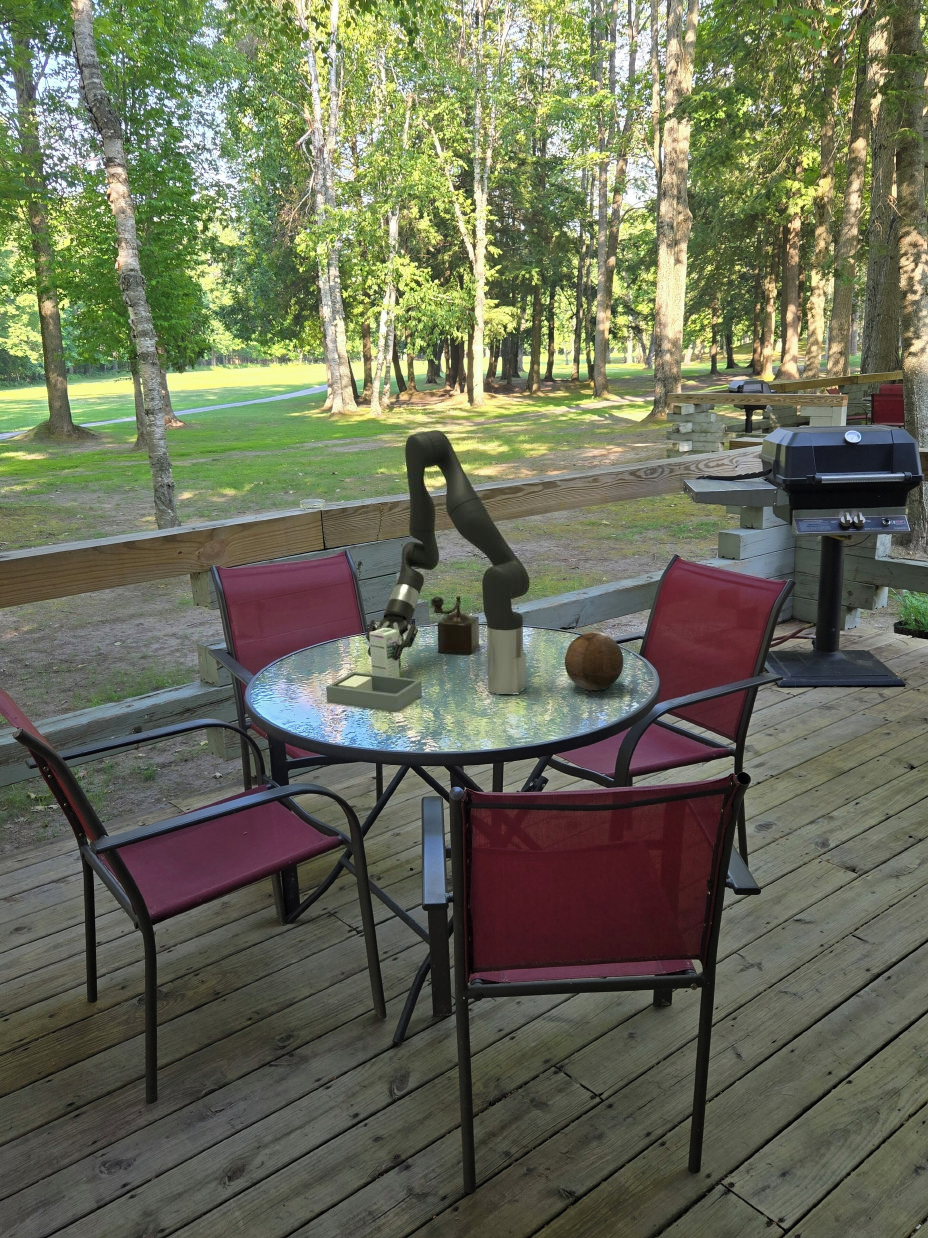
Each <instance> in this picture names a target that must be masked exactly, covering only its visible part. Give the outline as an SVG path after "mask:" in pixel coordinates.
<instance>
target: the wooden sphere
mask: <svg viewBox="0 0 928 1238" xmlns="http://www.w3.org/2000/svg"><path fill="white" fill-rule="evenodd" d="M564 654H565V655H564V667H565V672H566V674H567V676H568V677H569V679H570V680H571V681H572V683H573V684H575V686H578V687H579V688H581V689H583V690H586V689H588V690H587V691H592V690H597V691H601V690H604V689H608V688H609V687H612V685H614V684H615V683H616V681H617V680H618V679H619V678H620V676H621V674H622V672H623V670H624V669H623V668H624V655H623V651H622V649H621V647H620V645H619V644H618V643H617V642H616V640H615V639H613V638H612V637H611V636H609V635H607V634H605V633H602V632H597V631H596V632H594V631H593V632H587V633H586V632H585V633H583V634H581V635H579V636H577V637H576V638H575V639H574V640H572V641H571V642H570V644H569V646H568V647H567V649H566V651H565V653H564Z"/></svg>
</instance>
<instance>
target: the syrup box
mask: <svg viewBox="0 0 928 1238" xmlns="http://www.w3.org/2000/svg"><path fill="white" fill-rule="evenodd" d="M369 634H370V643H369V646H370V651H371V657H370V662H371V663H370V664H371V674H375V675H383V676H391V677H398V678H402V664H401V657H400V658H399V659H398V660H397V661H395V660H394V659H393V658H392V655H393V652H394V650H395V647H396V645H398V643H397V639H398V635H399V630H396V629H392V628H382V629H380V628H378V630H376V631H373V632H370V633H369Z"/></svg>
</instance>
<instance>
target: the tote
mask: <svg viewBox="0 0 928 1238" xmlns="http://www.w3.org/2000/svg"><path fill="white" fill-rule="evenodd" d="M355 675H356V676H364V677H372V691H365V690H358V689H351V688H343V687H339V686H338V685H339V684H340V683H342V682H344V681H346V680H348V679H349V678H351V677H353V676H355ZM422 683H423V682H422V680H421V679H420V680H419V679H413V678H407V677H405V678H404V677H401V678H398V677H391V676H383V675H375V674H372V673H367V672H359V671H352V672H350V673H349V674H346V675H345V676H343V677H341V678H339V679H337V680H336V681H334V682H332V683H330V684H328V685H326V686H325V689H326V692H325V693H326V702H327V703H330V704H332V703H333V704H339V705H343V706H344V705H345V706H352V707H358V708H359V707H360V708H366V709H372V710H380V711H386V712H391V713H392V712H393V713H399V712H400V711H402V710H403V709H404V708H406V707H408V706H409V705H410V704H412V703H413V702H415V701H416V700H418V699H419V698H421V697H422V696H423V689H422Z"/></svg>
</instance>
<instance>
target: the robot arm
mask: <svg viewBox="0 0 928 1238" xmlns="http://www.w3.org/2000/svg"><path fill="white" fill-rule="evenodd" d="M404 454H405V455H404V456H405V466H406V475H407V476H406V477H407V483H408V493H409V501H410V503H409V505H410V506H409V525H408V526H409V527H408V531H409V535H410V536H411V537H412V538H413V539H415V540H417V541H419V542H416V541H409V542H406V544H404V546H403V547H402V550H401V562H400V563H401V565H400V572H399V576H398V579H397V582H396V583H395V584H396V585H395V586H394V589H393V590H392V593H391V595H390V597H389V600H388V602H387V605H386V607H385V610H384V613H383V618H382V620H381V621H376V620H374V619H372V620H370V622H369V626H368V629H367V633H366V636H365V639H366V640H367V641H368V643H369V644H370V634H369V633H370V632H373V631H376V630H379V629H382V628H392V629H396V630H399V635H398V639H397V643H398V645H396V647H395V650H394V652H393V655H392V658H393V659H394V660H395V661H397V660H398V659H399V658H400V659H401V655H402V654H403V650H404V649H405V648H409V649H410V648H412V647H413V644H414V642H415V639H416V637H417V634H418V632H419V629H418V627H417V626H416V624H414V623H412V624H411V622H412V620H413V616H414V614H415V611H416V609H417V605H418V601H419V597H420V594H421V591H422V589H423V586H424V583H425V576H424V575H423V574H422V573H421V572H420V571H418V570H417V569H421V570H425V571H433V570H435V568H436V567H437V566H438V565H439V562H440V552H439V547H438V543H437V539H436V533H435V527H436V506H435V503H434V500H433V498H432V497H431V494H430V493H429V491H428V489H427V487H426V484H425V470H426V469H427V468H431V467H436V466H437V468H439V470H440V472H441V473H442V474H441V475H442V476H443V478H444V480H445V483H446V485H445V486H446V494H445V508H446V513H447V515H448V517H449V519H450V520H451V522H452V524H453V526H454V527H455V529H456V530H457V533H459V535H461V536H462V538H464V539H465V540H466V541H467V542H469V543H470V544H471V545H472V546H474V547H476V549H478V550H479V551H481V552H482V553H483V555H485V556H486V557H487V559H488V560H489V561H490V563H491V565H492V566H490V567H488V568H487V569H486V570H485V572H484V573H483V577H482V584H481V585H482V587H481V588H482V590H481V591H482V604H483V606H482V607H483V614H484V618H485V620H486V636H487V637H486V639H487V640H486V645H487V647H486V650H487V651H486V652H487V653H486V654H487V656H486V657H487V658H486V659H487V665H486V666H487V690H489V691H490V692H489V691H488V692H489V693H491V692H492V693H491V694H494V693H496V694H495V695H499V694H511V693H519V692H520V691H521V690H522V689H523V688H525V687H526V688H527V654H526V652H524V617H523V615H522V614H521V613H520V612H518V611H513V607H512V600H514V599H518V598H520V597H522V596H523V597H524V595H526V594H527V593H528V591H529V590H530V585H531V584H530V583H531V582H530V577H529V573H528V572H527V569H526V568H525V567H524V564H523V563H522V562H521V560H520V559H519V558H518V556H517V555H516V554H515V552H514V551H513V550H512V548H511V547H510V546H509V544H508V543H507V542H506V540H505V539H504V537H503V535H502V533H501V532H500V531H499V529H498V527H497V525H496V524H495V523H494V520H493V519H492V517H491V515H490V514H489V512H488V510H487V508H486V506H485V505H484V503H483V501H482V500H481V499H480V496H479V495H478V494H477V492H476V490H475V488H474V487H473V485H472V484H471V482H470V480H469V478H468V476H467V475H466V473H465V470H464V469H463V467H462V465H461V463H460V461H459V458H458V455H457V454H456V451H455V450H454V447H453V445H452V443H451V441H450V440H449V438H448V437H447V435H446V434H445V433H444V432H443V431H441V430H438V429H433V430H427V431H422V432H417V433H414V434H410V435H409V436H408V437H407V439H406V442H405V448H404ZM414 568H416V569H414ZM410 624H411V625H410ZM406 633H407V634H406ZM404 634H406V637H404ZM367 654H368V656H369V658H371V651H370V645H369V647H368V649H367ZM526 688H525V689H526ZM520 693H521V692H520ZM520 693H519V694H520Z"/></svg>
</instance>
